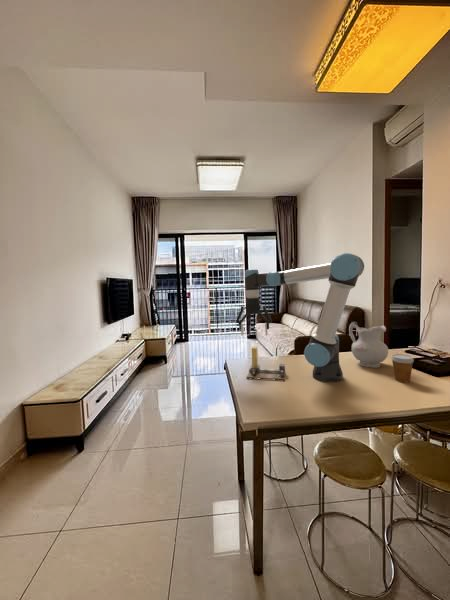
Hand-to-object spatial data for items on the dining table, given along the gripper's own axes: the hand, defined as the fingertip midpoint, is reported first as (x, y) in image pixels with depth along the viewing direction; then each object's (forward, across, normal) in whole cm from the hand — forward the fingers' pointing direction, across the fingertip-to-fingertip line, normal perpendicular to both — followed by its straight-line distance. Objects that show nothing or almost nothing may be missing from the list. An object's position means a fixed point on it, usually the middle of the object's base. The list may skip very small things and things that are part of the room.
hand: (254, 335), depth 150 cm
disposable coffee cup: (+23, -73, 0) cm, 77 cm away
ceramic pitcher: (+23, -63, -25) cm, 72 cm away
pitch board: (+22, -6, +3) cm, 23 cm away
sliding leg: (+21, 0, +2) cm, 21 cm away
